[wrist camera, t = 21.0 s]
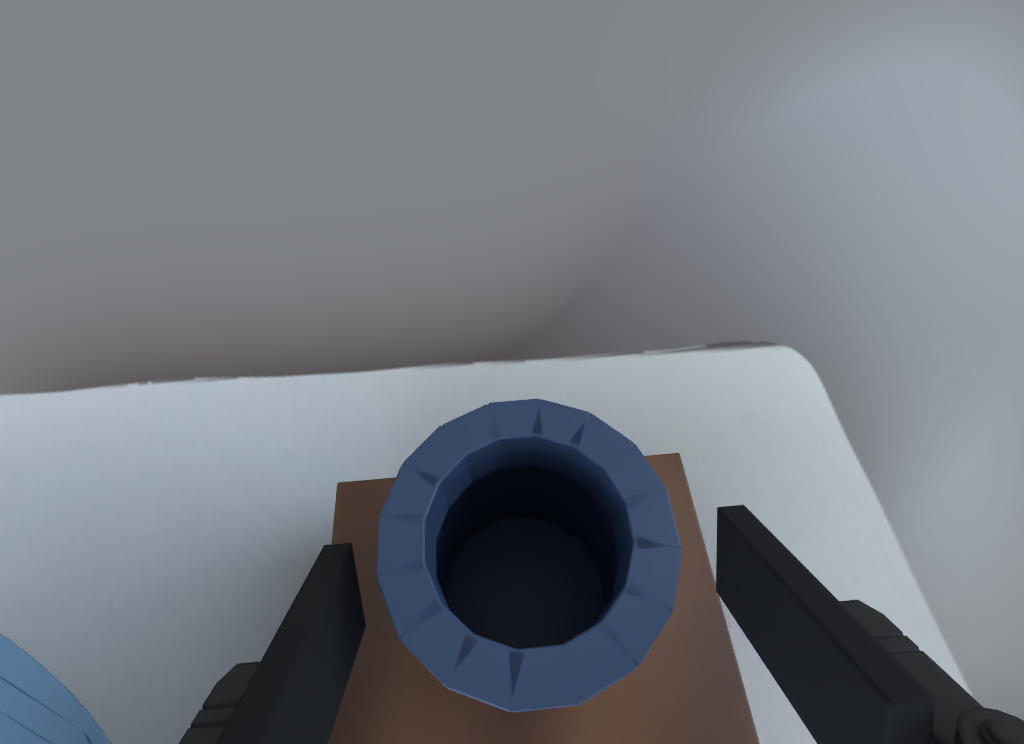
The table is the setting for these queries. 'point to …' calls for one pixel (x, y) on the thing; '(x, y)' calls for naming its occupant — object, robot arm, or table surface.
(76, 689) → the table surface
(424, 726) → the overhanging wooden cap box
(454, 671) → the jar
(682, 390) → the table surface
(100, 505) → the table surface
